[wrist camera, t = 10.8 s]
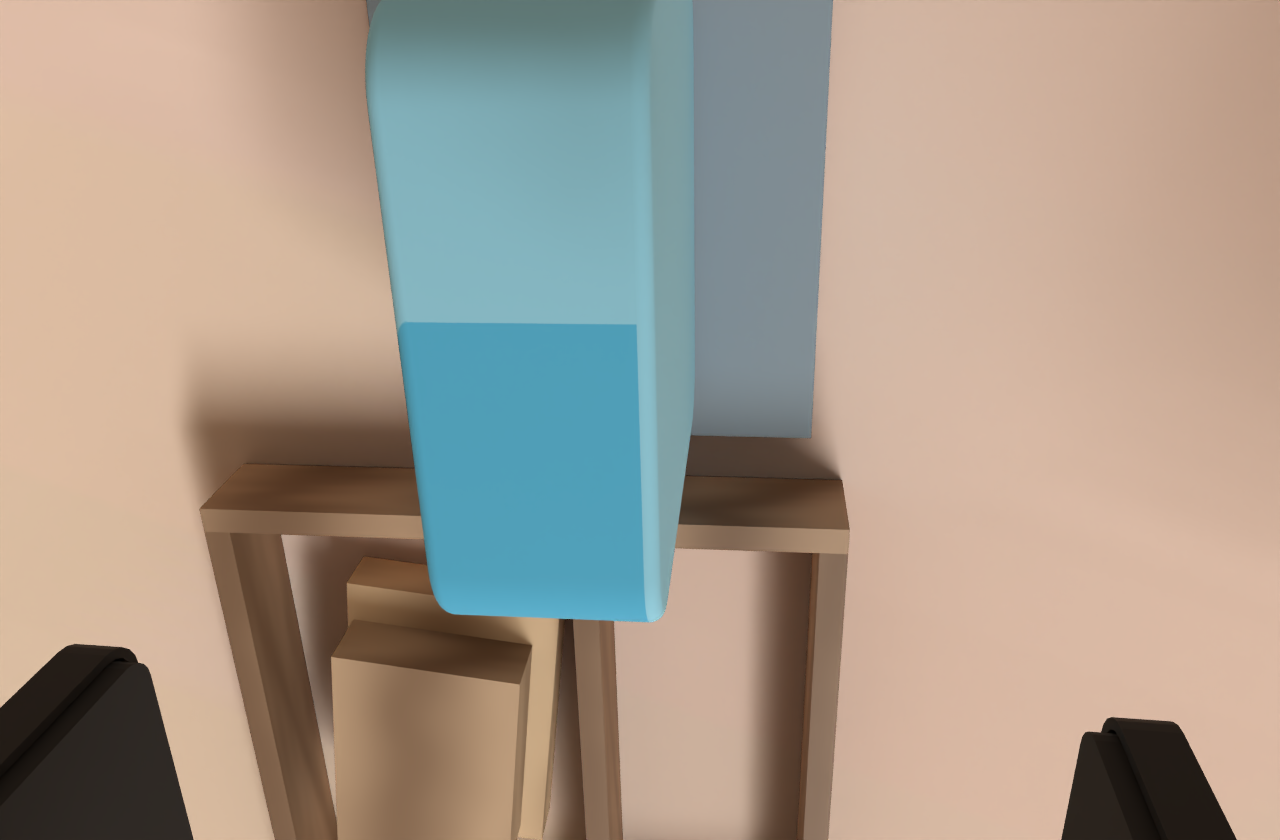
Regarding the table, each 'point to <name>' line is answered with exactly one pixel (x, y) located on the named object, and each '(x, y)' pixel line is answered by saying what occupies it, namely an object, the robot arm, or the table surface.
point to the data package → (541, 291)
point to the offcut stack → (440, 714)
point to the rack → (709, 519)
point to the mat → (756, 211)
